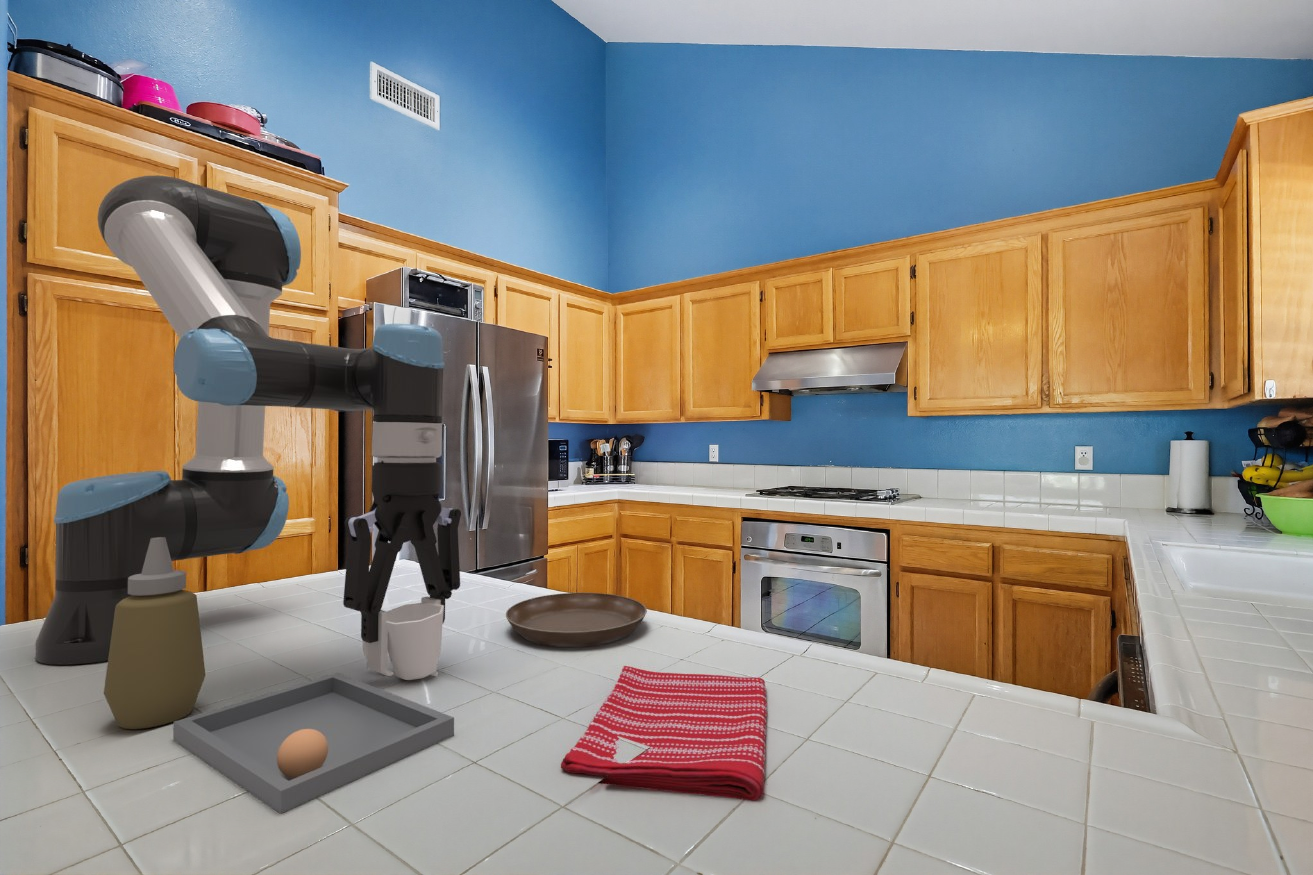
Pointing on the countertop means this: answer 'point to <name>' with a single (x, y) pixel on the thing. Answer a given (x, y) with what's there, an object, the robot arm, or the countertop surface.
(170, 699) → the squeeze bottle
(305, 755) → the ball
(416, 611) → the cup
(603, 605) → the plant saucer
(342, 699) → the tray
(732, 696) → the dish towel
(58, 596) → the robot arm
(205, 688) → the countertop surface
